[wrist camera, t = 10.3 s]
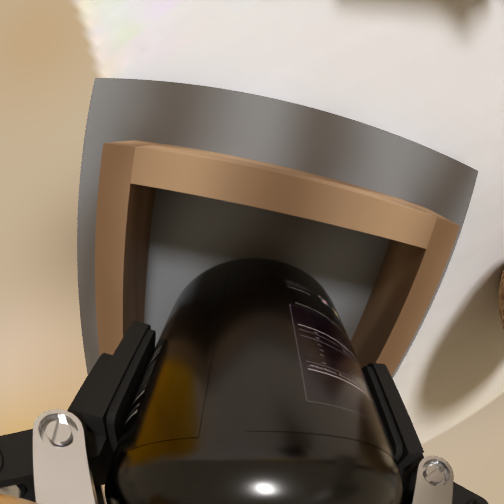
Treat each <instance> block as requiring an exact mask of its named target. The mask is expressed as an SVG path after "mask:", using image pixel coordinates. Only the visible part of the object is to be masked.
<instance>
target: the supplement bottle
mask: <svg viewBox="0 0 504 504" xmlns="http://www.w3.org/2000/svg"><path fill="white" fill-rule="evenodd" d="M402 495H403V483H402V479H401V475H400V472H399V468H398V464H397V461H396V458H395V456H394V453H393V450H392V447H391V444H390V441H389V439H388V436H387V433H386V430H385V428H384V425H383V422H382V420H381V417H380V414H379V412H378V409H377V407H376V404H375V401H374V399H373V396H372V394H371V391H370V389H369V386H368V383H367V381H366V378H365V376H364V373H363V371H362V369H361V366H360V364H359V361H358V359H357V356H356V354H355V351H354V349H353V347H352V344H351V342H350V340H349V337H348V335H347V332H346V330H345V328H344V325H343V323H342V321H341V319H340V316H339V314H338V312H337V310H336V308H335V306H334V304H333V302H332V300H331V298H330V297H329V295H328V293H327V292H326V291H325V289H324V288H323V287H322V286H321V285H320V284H319V283H318V282H317V281H316V280H315V279H314V278H313V277H311V276H310V275H309V274H307V273H306V272H304V271H303V270H301V269H299V268H297V267H295V266H293V265H290V264H288V263H285V262H281V261H278V260H273V259H267V258H242V259H236V260H231V261H227V262H224V263H221V264H218V265H216V266H214V267H212V268H210V269H208V270H206V271H204V272H203V273H201V274H200V275H198V276H197V277H196V278H194V279H193V280H192V281H191V282H190V283H189V284H188V285H187V286H186V287H185V289H184V290H183V291H182V292H181V294H180V296H179V297H178V299H177V300H176V302H175V304H174V307H173V309H172V311H171V313H170V315H169V317H168V319H167V321H166V324H165V326H164V328H163V331H162V333H161V335H160V338H159V340H158V342H157V345H156V347H155V350H154V352H153V354H152V357H151V359H150V362H149V364H148V366H147V369H146V371H145V374H144V376H143V379H142V381H141V384H140V386H139V389H138V391H137V394H136V396H135V399H134V401H133V404H132V407H131V409H130V412H129V414H128V417H127V420H126V422H125V425H124V428H123V430H122V433H121V436H120V438H119V441H118V444H117V446H116V449H115V452H114V455H113V458H112V460H111V463H110V466H109V471H108V474H107V477H106V481H105V498H106V502H107V504H401V500H402Z"/></svg>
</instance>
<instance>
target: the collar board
mask: <svg viewBox="0 0 504 504" xmlns="http://www.w3.org/2000/svg"><path fill="white" fill-rule="evenodd" d="M477 174H478V171H477V170H475V169H473V168H471V167H469V166H467V165H465V164H463V163H461V162H459V161H457V160H454V159H452V158H450V157H448V156H446V155H443V154H441V153H439V152H437V151H434V150H432V149H430V148H427V147H425V146H423V145H420V144H418V143H415V142H413V141H410V140H408V139H405V138H403V137H400V136H398V135H395V134H392V133H390V132H387V131H384V130H381V129H378V128H376V127H373V126H370V125H367V124H364V123H361V122H358V121H355V120H351V119H348V118H345V117H342V116H338V115H335V114H332V113H328V112H325V111H321V110H318V109H314V108H310V107H306V106H302V105H298V104H294V103H290V102H286V101H282V100H277V99H273V98H268V97H264V96H259V95H254V94H249V93H243V92H238V91H232V90H226V89H220V88H214V87H207V86H199V85H192V84H183V83H174V82H164V81H152V80H138V79H116V78H95V81H94V86H93V91H92V96H91V101H90V107H89V112H88V118H87V124H86V131H85V138H84V146H83V154H82V163H81V174H80V187H79V202H78V230H77V232H78V233H77V261H78V287H79V303H80V316H81V327H82V336H83V345H84V352H85V359H86V365H87V373H88V375H89V373H90V371H91V370H92V368H93V366H94V365H95V363H96V362H97V360H98V358H99V357H100V356H101V354H103V353H107V354H110V355H113V354H114V352H115V350H116V349H117V347H118V345H119V344H120V342H121V340H122V338H123V337H124V335H125V333H126V332H127V330H128V328H129V327H130V325H131V324H132V322H133V321H137V322H141V323H145V324H149V325H150V326H151V330H154V331H156V341H155V347H156V345H157V342H158V340H159V338H160V335H161V333H162V331H163V328H164V326H165V324H166V321H167V319H168V317H169V315H170V313H171V311H172V309H173V307H174V304H175V302H176V300H177V299H178V297H179V296H180V294H181V292H182V291H183V290H184V289H185V287H186V286H187V285H188V284H189V283H190V282H191V281H192V280H193V279H194V278H196V277H197V276H198V275H200V274H201V273H203V272H204V271H206V270H208V269H210V268H212V267H214V266H216V265H218V264H221V263H224V262H227V261H231V260H236V259H242V258H267V259H273V260H278V261H281V262H285V263H288V264H290V265H293V266H295V267H297V268H299V269H301V270H303V271H304V272H306V273H307V274H309V275H310V276H311V277H313V278H314V279H315V280H316V281H317V282H318V283H319V284H320V285H321V286H322V287H323V288H324V289H325V291H326V292H327V293H328V295H329V297H330V298H331V300H332V302H333V304H334V306H335V308H336V310H337V312H338V314H339V316H340V319H341V321H342V323H343V325H344V328H345V330H346V332H347V335H348V337H349V340H350V342H351V344H352V347H353V349H354V351H355V354H356V356H357V359H358V361H359V364H360V366H361V369H362V368H363V367H364V366H367V365H368V364H369V363H380V364H385V365H386V366H387V368H388V370H389V373H390V375H391V377H392V378H393V377H394V375H395V373H396V372H397V370H398V368H399V367H400V365H401V363H402V361H403V359H404V358H405V356H406V354H407V352H408V350H409V349H410V347H411V345H412V343H413V341H414V339H415V337H416V335H417V333H418V331H419V329H420V327H421V325H422V323H423V321H424V319H425V317H426V315H427V313H428V311H429V309H430V307H431V304H432V302H433V300H434V298H435V296H436V293H437V291H438V289H439V286H440V284H441V282H442V279H443V277H444V275H445V272H446V270H447V267H448V265H449V262H450V259H451V257H452V254H453V251H454V249H455V246H456V243H457V240H458V238H459V235H460V232H461V229H462V226H463V223H464V220H465V216H466V213H467V210H468V207H469V203H470V200H471V196H472V193H473V189H474V185H475V182H476V178H477Z"/></svg>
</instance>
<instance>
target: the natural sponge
mask: <svg viewBox="0 0 504 504" xmlns="http://www.w3.org/2000/svg"><path fill="white" fill-rule="evenodd" d="M498 301H499V311H500V316H501V320H502V324H503V328H504V270H503V272H502V276H501V281H500V284H499V294H498Z"/></svg>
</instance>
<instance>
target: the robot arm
mask: <svg viewBox="0 0 504 504" xmlns="http://www.w3.org/2000/svg"><path fill="white" fill-rule="evenodd" d="M155 341H156V331H154V330H151V326H150V325H149V324H145V323H141V322H137V321H133V322H132V324H131V325H130V327H129V328H128V330H127V332H126V333H125V335H124V337H123V338H122V340H121V342H120V344H119V345H118V347H117V349H116V350H115V352H114V354H113V355H110V354H107V353H103V354H101V356H100V357H99V358H98V360H97V362H96V363H95V365H94V366H93V368H92V370H91V371H90V373H89V375H88V376H87V378H86V380H85V381H84V383H83V385H82V386H81V388H80V390H79V391H78V393H77V395H76V397H75V399H74V400H73V402H72V403H71V405H70V407H69V409H68V411H66V410H61V409H52V410H48V411H46V412H43V413H42V414H40V415H39V416H38V417H37V419H36V420H35V422H34V426H33V429H30V430H26V431H21V432H17V433H12V434H8V435H3V436H0V504H106V500H105V495H104V491H103V486H102V485H104V484H105V481H106V477H107V474H108V471H109V466H110V463H111V460H112V458H113V455H114V452H115V449H116V446H117V444H118V441H119V438H120V436H121V433H122V430H123V428H124V425H125V422H126V420H127V417H128V414H129V412H130V409H131V407H132V404H133V401H134V399H135V396H136V394H137V391H138V389H139V386H140V384H141V381H142V379H143V376H144V374H145V371H146V369H147V366H148V364H149V362H150V359H151V357H152V354H153V352H154V350H155ZM362 371H363V373H364V376H365V378H366V381H367V383H368V386H369V389H370V391H371V394H372V396H373V399H374V401H375V404H376V407H377V409H378V412H379V414H380V417H381V420H382V422H383V425H384V428H385V430H386V433H387V436H388V439H389V441H390V444H391V447H392V450H393V453H394V456H395V458H396V461H397V464H398V468H399V472H400V475H401V479H402V483H403V495H402V500H401V504H488V503H487V501H486V500H485V499H484V498H482V497H480V496H478V495H476V494H475V493H473V492H471V491H469V490H467V489H465V488H464V487H462V486H460V485H458V484H456V483H455V482H453V478H454V476H453V470H452V468H451V466H450V465H449V463H448V462H447V461H445V460H444V459H443V458H440V457H438V456H427V457H425V458H424V456H423V454H422V453H423V452H424V451H423V448H422V446H421V443H420V441H419V439H418V436H417V434H416V431H415V429H414V427H413V424H412V422H411V419H410V417H409V415H408V413H407V410H406V408H405V406H404V403H403V401H402V399H401V397H400V394H399V392H398V390H397V388H396V386H395V383H394V381H393V379H392V377H391V375H390V373H389V370H388V368H387V366H386V365H385V364H380V363H369V364H368V365H367V366H364V367H363V368H362Z"/></svg>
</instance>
